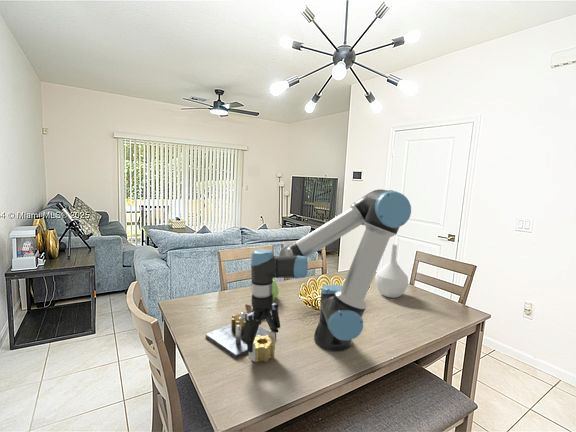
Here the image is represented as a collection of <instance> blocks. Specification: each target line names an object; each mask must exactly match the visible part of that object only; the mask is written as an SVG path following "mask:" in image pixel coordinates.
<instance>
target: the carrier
mask: <svg viewBox="0 0 576 432" xmlns="http://www.w3.org/2000/svg"><path fill="white" fill-rule="evenodd" d="M246 313H247V314H249V313H248V312H244V311H240V312H238V313H237V314H232V315H231V316H232V317H231V321H230V322H231V323H230V324H227V325H225V326H222V327H220V328H217V329H215V330H212V331H210V332H207V333H205V338H206V340H208V341H210V342H212V344H215V345H216V346H217V347H219V348H220V349H222V350H223V351H224V352H226V353H227V354H229V356H231V357H233V358H234V359H235V360H237V359H238V358H239V359H240V358H241V357H242V356H244V355H247V354H249V352H248V350H247V344H246V343H244V342H242V339H243V333H244V327H245V321H246V319H245V314H246ZM257 335H260V336H266V335H268V336H269V330H266V329H264V328H262V327H261V326H259V327H258V330H257V333H256V336H255V338H256V337H257Z"/></svg>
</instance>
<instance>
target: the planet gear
mask: <svg viewBox="0 0 576 432" xmlns="http://www.w3.org/2000/svg"><path fill="white" fill-rule="evenodd" d="M254 342H255V361H254V362H257V363H259V362H260V361H264V363H266V362H269V359H274V358H275V350H276V339H274V338H269V336H268V335H266V336H260V335H257V337H256V338H255V339H254Z"/></svg>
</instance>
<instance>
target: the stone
mask: <svg viewBox="0 0 576 432" xmlns="http://www.w3.org/2000/svg"><path fill="white" fill-rule="evenodd" d="M244 306H245V310H246V313H249V314H250V313H251V312H252V310H253V306H252V303H251V304H250V303H245V305H244Z"/></svg>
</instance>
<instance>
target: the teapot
mask: <svg viewBox="0 0 576 432" xmlns="http://www.w3.org/2000/svg"><path fill="white" fill-rule="evenodd" d="M272 294H273V302H274V301H276V299H277V297H278V296H279V287H278V284H277V282H276V279H275V278H273V293H272Z"/></svg>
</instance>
